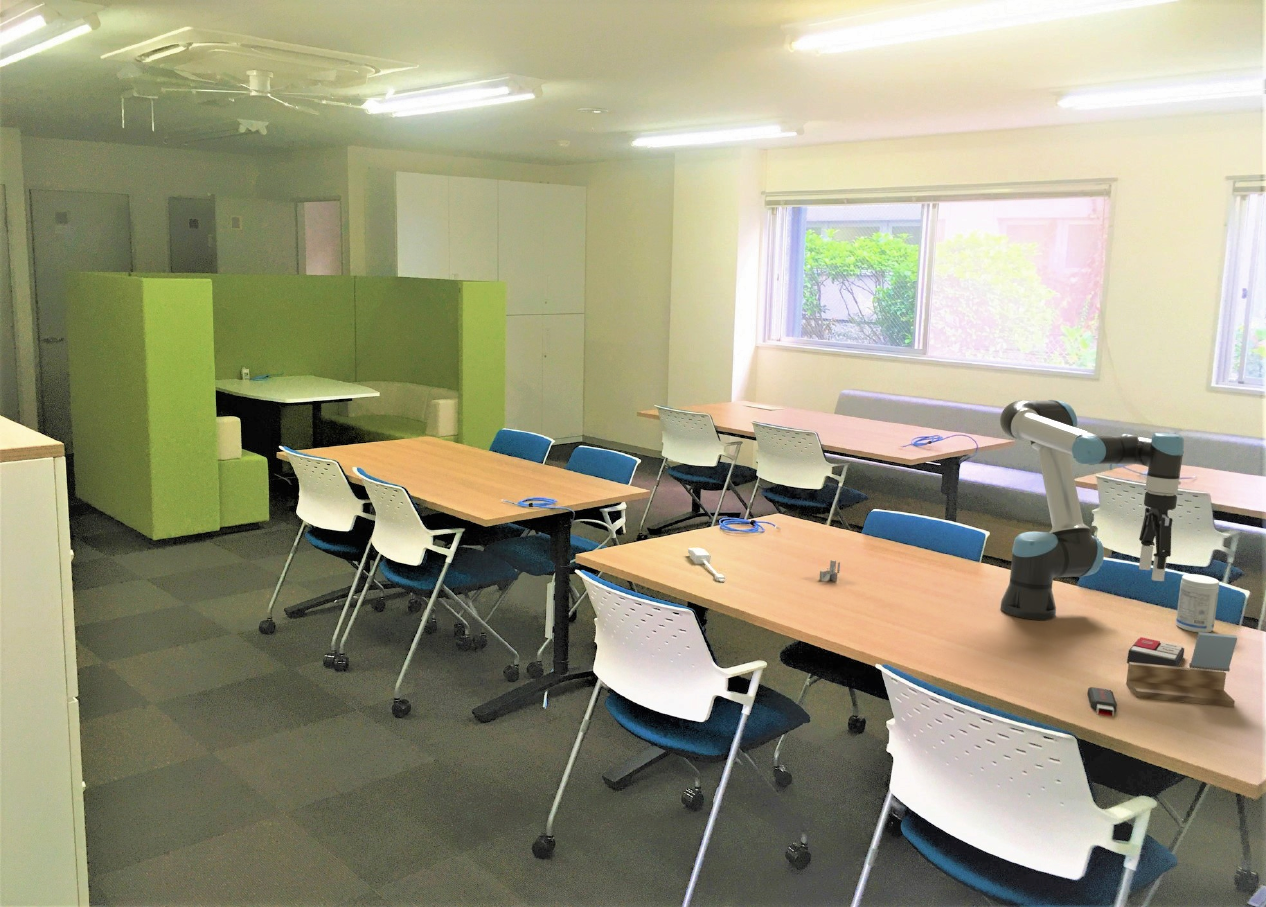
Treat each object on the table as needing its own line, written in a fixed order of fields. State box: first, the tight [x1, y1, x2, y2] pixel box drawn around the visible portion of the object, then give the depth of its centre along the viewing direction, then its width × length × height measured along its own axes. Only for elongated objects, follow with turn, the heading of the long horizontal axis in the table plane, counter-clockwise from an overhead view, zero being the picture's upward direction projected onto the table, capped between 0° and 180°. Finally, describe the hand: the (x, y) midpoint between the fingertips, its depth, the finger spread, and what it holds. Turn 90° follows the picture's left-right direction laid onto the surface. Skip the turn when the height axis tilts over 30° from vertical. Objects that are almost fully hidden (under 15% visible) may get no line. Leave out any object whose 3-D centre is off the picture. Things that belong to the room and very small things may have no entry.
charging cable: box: [687, 547, 726, 582], centre depth 330 cm, size 5×32×3 cm, turn 13°
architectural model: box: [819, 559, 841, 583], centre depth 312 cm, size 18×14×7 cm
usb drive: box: [1087, 686, 1118, 717], centre depth 229 cm, size 5×12×3 cm, turn 161°
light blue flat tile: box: [1188, 632, 1238, 672], centre depth 236 cm, size 8×10×1 cm
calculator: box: [1126, 637, 1185, 667], centre depth 260 cm, size 11×4×15 cm
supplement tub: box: [1175, 573, 1220, 633], centre depth 286 cm, size 10×10×15 cm
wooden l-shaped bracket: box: [1125, 662, 1236, 708], centre depth 237 cm, size 21×8×6 cm, turn 80°
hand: (1150, 574), depth 267 cm, fingers open, 10 cm apart
